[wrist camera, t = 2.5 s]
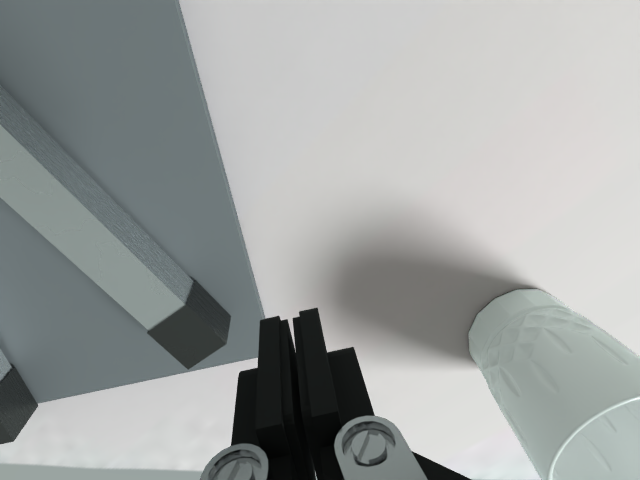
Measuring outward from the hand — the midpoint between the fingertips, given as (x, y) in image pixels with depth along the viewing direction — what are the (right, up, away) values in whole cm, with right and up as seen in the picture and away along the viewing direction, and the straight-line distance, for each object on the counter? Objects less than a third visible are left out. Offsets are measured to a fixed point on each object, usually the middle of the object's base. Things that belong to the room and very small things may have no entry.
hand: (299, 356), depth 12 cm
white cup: (+14, -3, +16) cm, 22 cm away
